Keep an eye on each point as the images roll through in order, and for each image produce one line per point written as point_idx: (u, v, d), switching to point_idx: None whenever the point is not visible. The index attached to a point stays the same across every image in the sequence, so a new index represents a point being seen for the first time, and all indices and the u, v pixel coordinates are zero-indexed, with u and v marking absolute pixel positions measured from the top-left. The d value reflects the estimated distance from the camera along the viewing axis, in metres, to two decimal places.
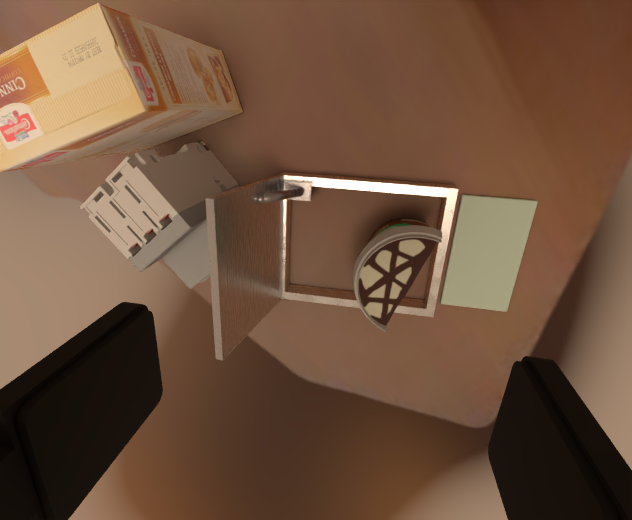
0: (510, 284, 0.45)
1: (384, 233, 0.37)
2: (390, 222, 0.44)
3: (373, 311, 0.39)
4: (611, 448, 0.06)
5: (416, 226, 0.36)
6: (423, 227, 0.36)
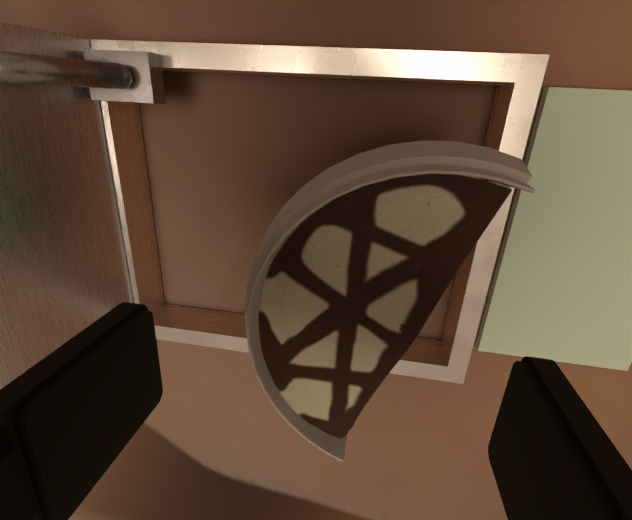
0: None
1: (329, 170, 0.11)
2: None
3: (307, 403, 0.14)
4: (611, 448, 0.06)
5: (434, 143, 0.11)
6: (459, 145, 0.10)
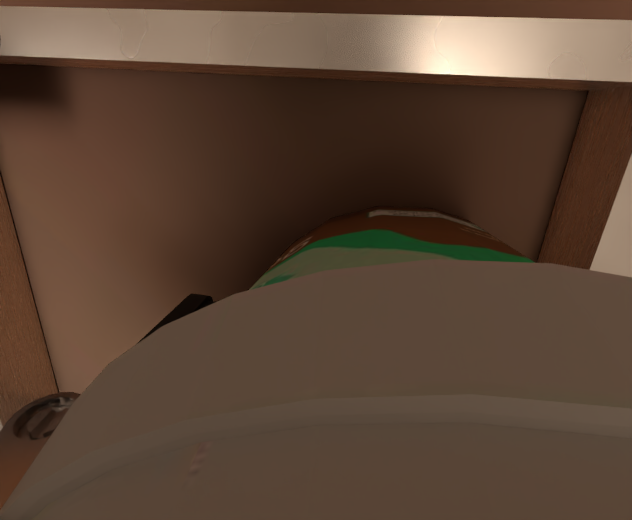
0: None
1: (150, 347, 0.04)
2: (324, 226, 0.10)
3: None
4: None
5: (476, 275, 0.03)
6: (570, 288, 0.03)
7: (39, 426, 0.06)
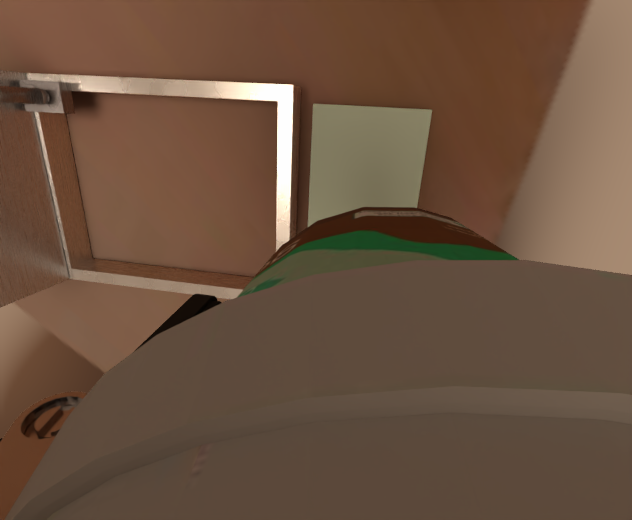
0: None
1: (145, 356, 0.04)
2: (311, 229, 0.11)
3: None
4: None
5: (456, 274, 0.03)
6: (543, 283, 0.03)
7: (47, 425, 0.06)
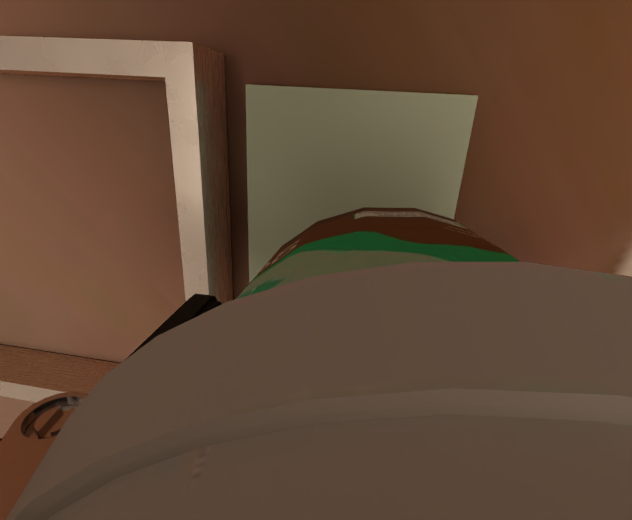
0: None
1: (146, 358, 0.04)
2: (311, 229, 0.11)
3: None
4: None
5: (456, 276, 0.03)
6: (543, 285, 0.03)
7: (47, 425, 0.06)
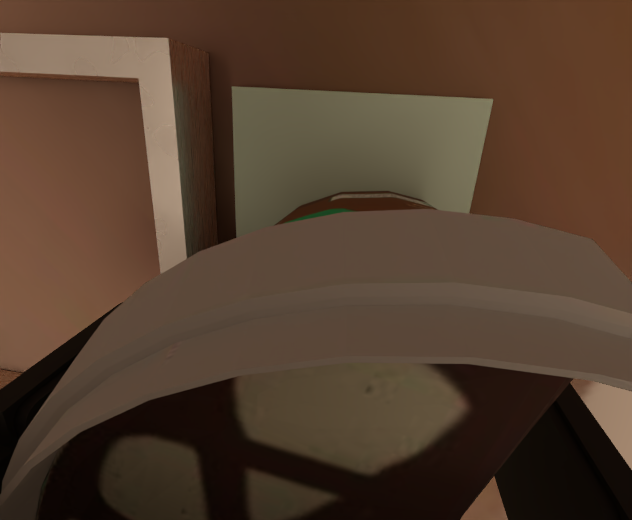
0: None
1: (136, 297, 0.05)
2: (292, 212, 0.12)
3: None
4: (611, 448, 0.06)
5: (371, 220, 0.04)
6: (433, 223, 0.04)
7: None
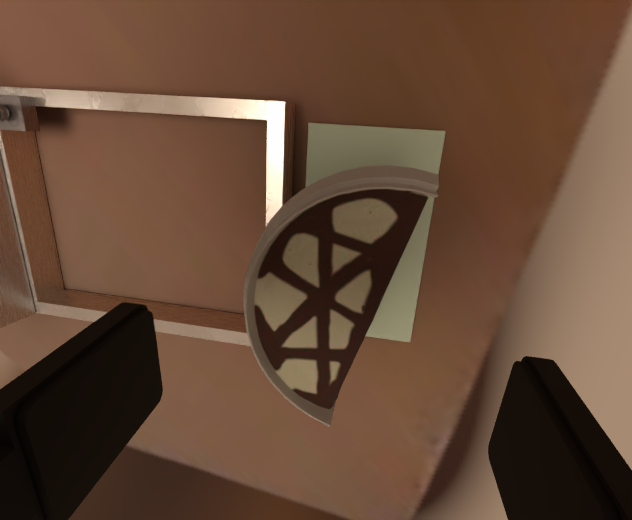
0: (411, 293, 0.25)
1: (299, 193, 0.15)
2: None
3: (298, 379, 0.17)
4: (611, 448, 0.06)
5: (372, 167, 0.15)
6: (389, 167, 0.14)
7: None
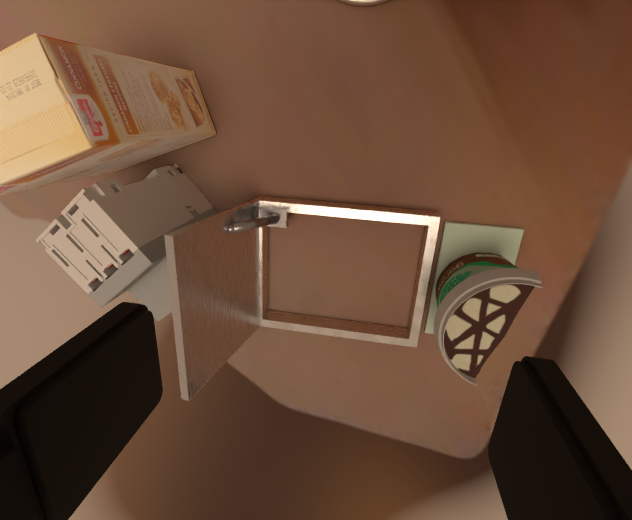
0: None
1: (470, 279, 0.33)
2: (463, 259, 0.40)
3: (460, 364, 0.35)
4: (611, 448, 0.06)
5: (507, 269, 0.32)
6: (516, 270, 0.32)
7: None
